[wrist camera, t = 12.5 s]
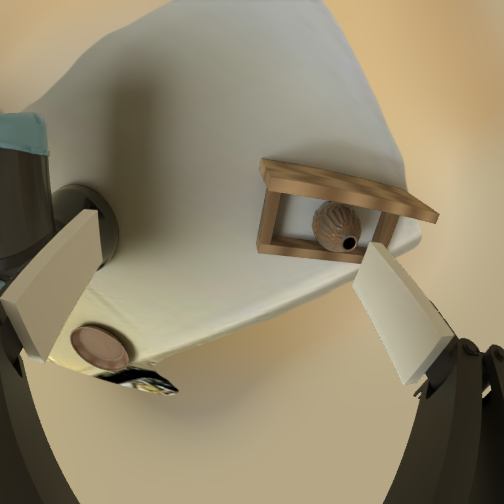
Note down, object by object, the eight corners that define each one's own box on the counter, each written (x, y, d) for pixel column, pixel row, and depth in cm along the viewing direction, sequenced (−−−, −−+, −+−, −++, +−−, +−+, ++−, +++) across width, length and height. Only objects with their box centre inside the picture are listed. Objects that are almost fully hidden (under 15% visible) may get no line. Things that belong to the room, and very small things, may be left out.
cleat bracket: (246, 242, 43) (250, 280, 34) (261, 158, 36) (270, 177, 28) (379, 257, 46) (405, 291, 37) (403, 189, 39) (439, 214, 31)
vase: (349, 232, 43) (372, 260, 35) (309, 240, 43) (325, 271, 36) (348, 192, 39) (373, 214, 32) (305, 199, 40) (322, 224, 32)
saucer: (70, 311, 48) (65, 320, 46) (131, 330, 51) (128, 339, 49) (78, 352, 55) (74, 360, 53) (131, 368, 58) (129, 377, 56)
